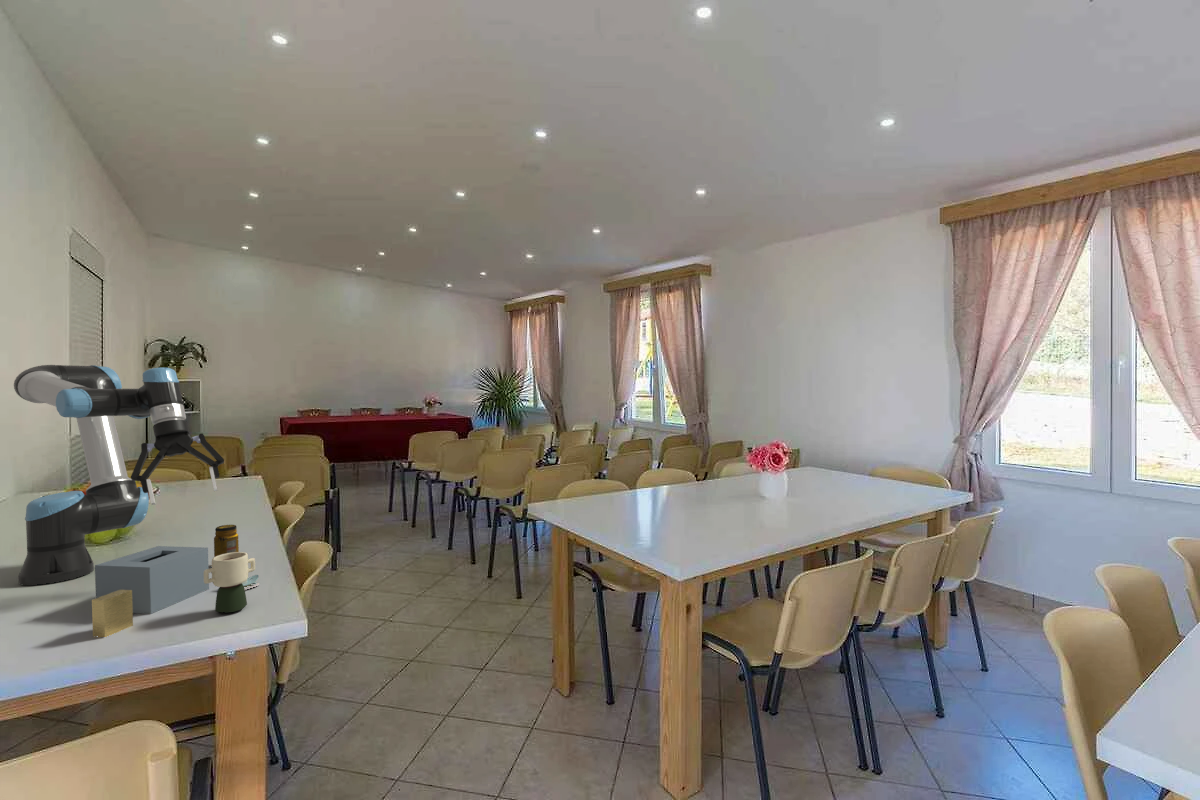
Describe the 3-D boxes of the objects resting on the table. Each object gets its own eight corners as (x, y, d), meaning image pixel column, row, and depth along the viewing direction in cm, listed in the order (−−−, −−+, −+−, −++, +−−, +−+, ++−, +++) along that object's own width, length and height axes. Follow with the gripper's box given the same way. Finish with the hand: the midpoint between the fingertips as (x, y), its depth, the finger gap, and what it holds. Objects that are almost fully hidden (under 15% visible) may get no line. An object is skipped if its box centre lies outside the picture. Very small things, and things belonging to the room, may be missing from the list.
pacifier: (264, 587, 145) (255, 581, 149) (263, 564, 145) (254, 559, 148) (232, 595, 139) (224, 589, 143) (232, 571, 139) (223, 566, 143)
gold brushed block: (92, 637, 116) (91, 599, 116) (121, 624, 122) (120, 589, 122) (104, 637, 115) (103, 600, 115) (133, 625, 121) (132, 590, 121)
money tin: (96, 610, 130) (94, 565, 129) (159, 586, 145) (158, 546, 145) (150, 613, 127) (149, 567, 127) (209, 588, 143) (208, 547, 143)
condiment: (239, 561, 167) (238, 522, 167) (242, 567, 161) (241, 527, 160) (210, 566, 163) (209, 526, 162) (212, 573, 156) (211, 531, 156)
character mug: (249, 599, 136) (247, 548, 135) (263, 605, 132) (261, 552, 131) (198, 615, 126) (196, 559, 126) (211, 622, 122) (210, 565, 122)
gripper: (107, 427, 139) (123, 508, 136) (224, 410, 154) (240, 482, 152) (111, 435, 145) (126, 512, 142) (223, 417, 160) (239, 487, 157)
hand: (185, 497), depth 147 cm, fingers open, 13 cm apart
